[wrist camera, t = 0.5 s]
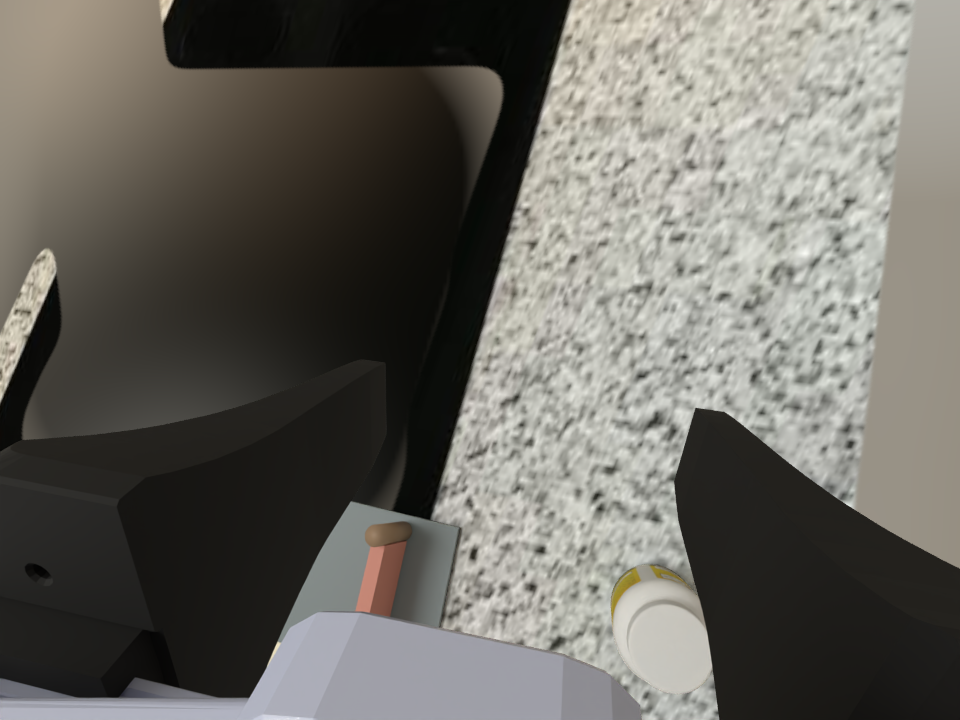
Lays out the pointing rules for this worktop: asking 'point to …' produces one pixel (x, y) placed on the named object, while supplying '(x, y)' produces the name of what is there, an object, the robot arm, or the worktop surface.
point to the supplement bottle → (660, 629)
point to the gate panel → (383, 566)
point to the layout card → (346, 561)
